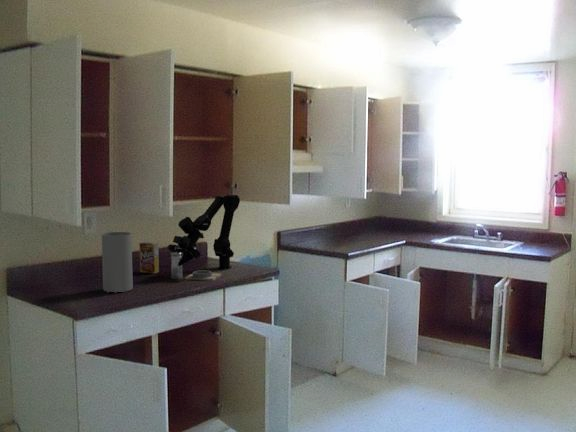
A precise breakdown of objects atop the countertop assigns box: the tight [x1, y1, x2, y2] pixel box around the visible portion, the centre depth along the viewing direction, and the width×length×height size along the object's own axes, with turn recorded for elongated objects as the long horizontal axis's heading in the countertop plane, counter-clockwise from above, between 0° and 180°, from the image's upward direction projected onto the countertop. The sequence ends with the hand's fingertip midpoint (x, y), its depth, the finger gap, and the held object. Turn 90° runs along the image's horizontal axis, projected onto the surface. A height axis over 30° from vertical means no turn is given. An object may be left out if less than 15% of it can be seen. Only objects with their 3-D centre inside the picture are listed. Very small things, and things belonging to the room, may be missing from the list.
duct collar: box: [192, 269, 213, 278], centre depth 283 cm, size 9×9×2 cm
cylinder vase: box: [101, 231, 134, 294], centre depth 256 cm, size 12×12×25 cm
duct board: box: [184, 272, 223, 282], centre depth 286 cm, size 14×14×1 cm
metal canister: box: [170, 252, 184, 280], centre depth 283 cm, size 6×6×12 cm
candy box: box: [138, 241, 160, 274], centre depth 296 cm, size 9×4×15 cm, turn 69°
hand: (174, 265), depth 282 cm, fingers closed on metal canister, 5 cm apart
